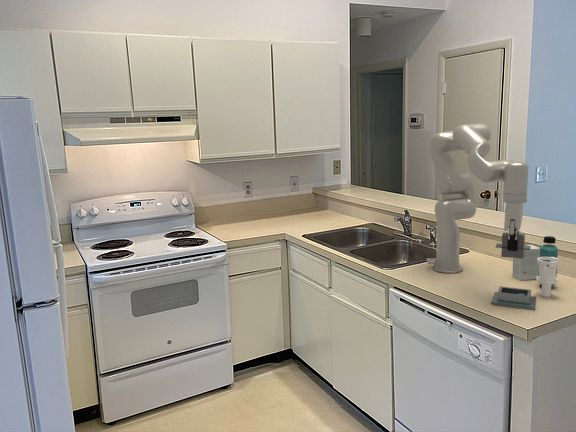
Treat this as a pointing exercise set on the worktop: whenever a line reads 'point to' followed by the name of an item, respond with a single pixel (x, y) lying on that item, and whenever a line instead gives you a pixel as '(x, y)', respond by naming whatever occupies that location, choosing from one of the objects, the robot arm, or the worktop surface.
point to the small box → (527, 264)
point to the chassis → (514, 298)
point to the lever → (521, 246)
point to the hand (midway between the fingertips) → (513, 248)
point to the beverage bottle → (549, 251)
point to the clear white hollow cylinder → (547, 274)
